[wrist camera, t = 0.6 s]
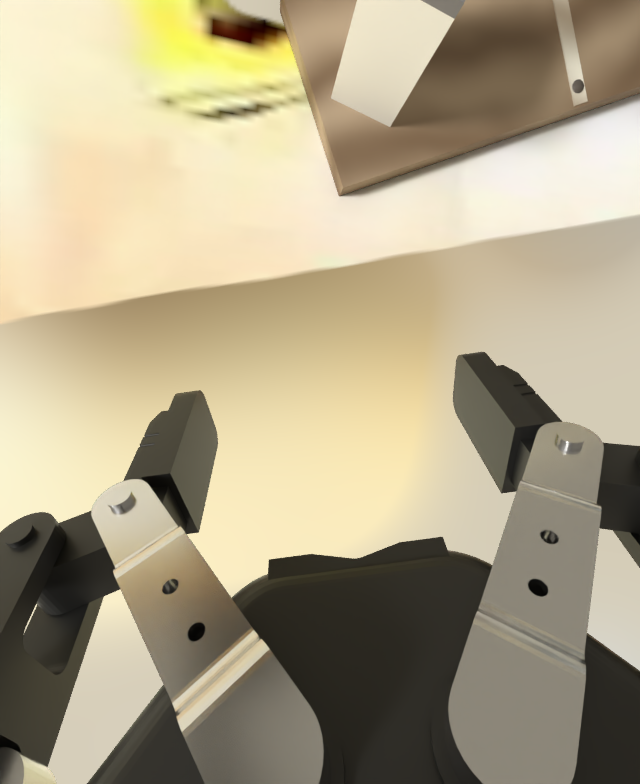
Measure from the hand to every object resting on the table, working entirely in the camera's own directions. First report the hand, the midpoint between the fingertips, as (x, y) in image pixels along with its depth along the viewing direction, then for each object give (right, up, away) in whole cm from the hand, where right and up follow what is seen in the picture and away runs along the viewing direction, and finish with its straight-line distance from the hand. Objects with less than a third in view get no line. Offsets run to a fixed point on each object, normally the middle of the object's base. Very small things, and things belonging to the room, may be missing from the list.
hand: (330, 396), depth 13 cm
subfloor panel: (+13, +28, +20) cm, 37 cm away
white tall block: (+4, +24, +18) cm, 30 cm away
